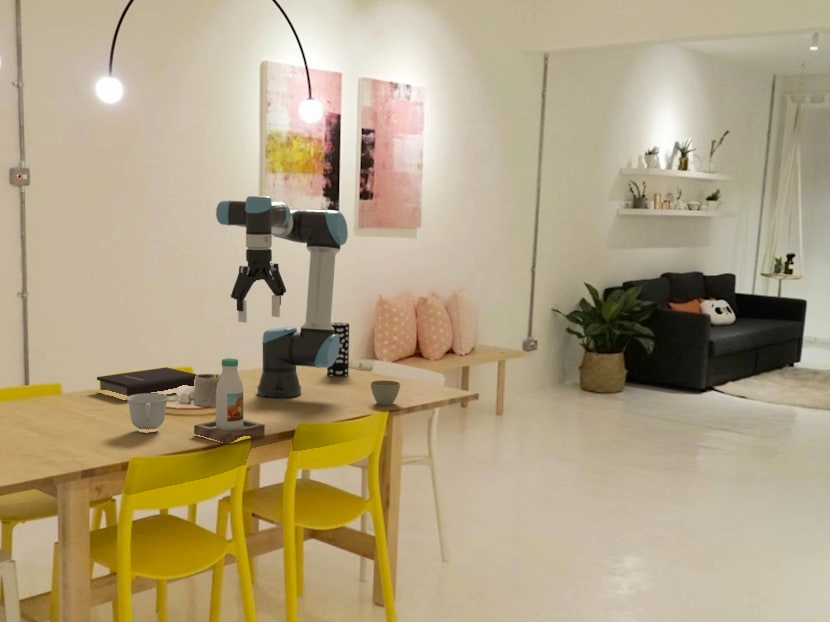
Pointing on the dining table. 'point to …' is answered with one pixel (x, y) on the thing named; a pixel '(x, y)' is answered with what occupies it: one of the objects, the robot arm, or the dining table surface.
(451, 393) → the dining table surface
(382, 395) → the bowl
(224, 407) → the milk bottle
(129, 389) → the book
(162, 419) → the teacup
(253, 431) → the brown wooden square tray
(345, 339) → the white-spotted black cylinder
